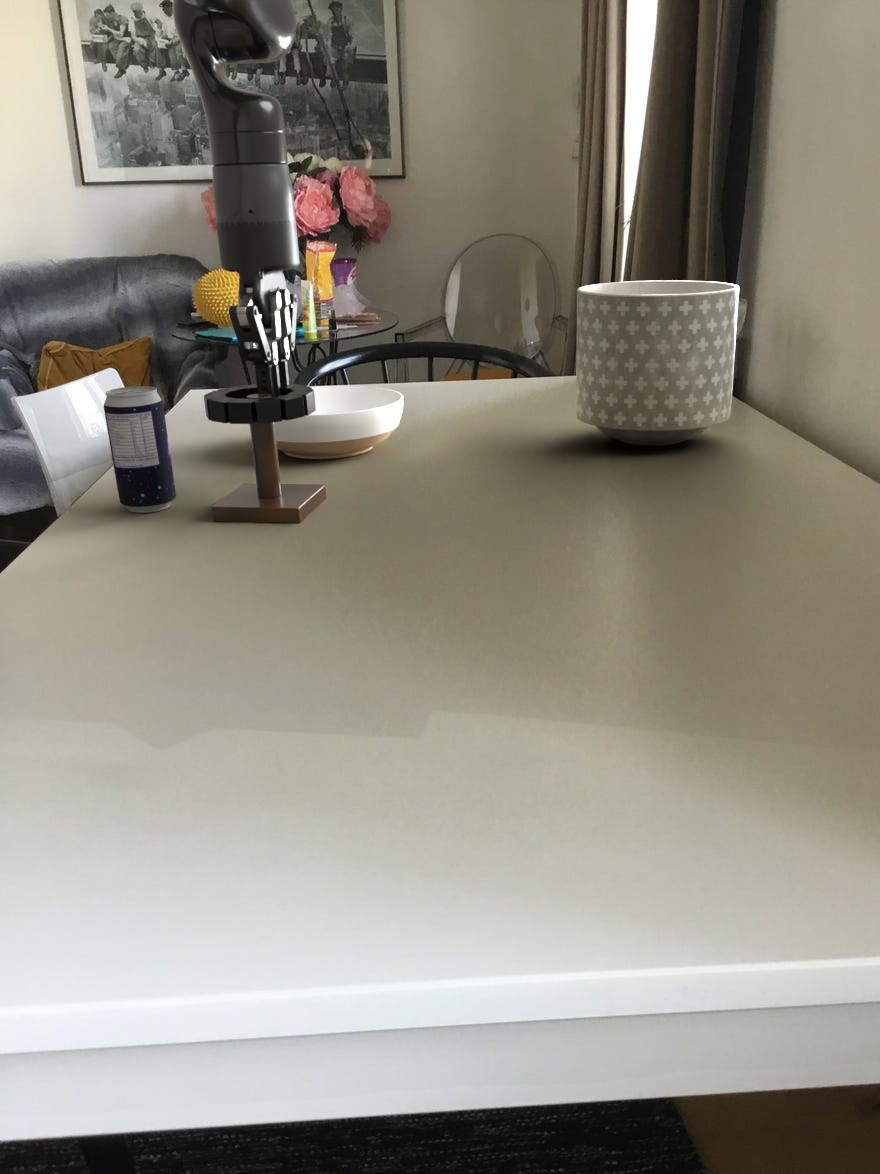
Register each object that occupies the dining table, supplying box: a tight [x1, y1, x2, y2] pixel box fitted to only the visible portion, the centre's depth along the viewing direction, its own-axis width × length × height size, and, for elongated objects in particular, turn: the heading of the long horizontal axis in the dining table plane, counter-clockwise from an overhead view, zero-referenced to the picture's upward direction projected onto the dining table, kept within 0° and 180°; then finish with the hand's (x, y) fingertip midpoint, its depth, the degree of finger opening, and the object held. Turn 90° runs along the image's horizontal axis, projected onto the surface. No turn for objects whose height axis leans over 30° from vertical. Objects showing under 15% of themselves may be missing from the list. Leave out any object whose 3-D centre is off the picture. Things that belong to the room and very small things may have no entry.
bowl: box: [274, 385, 404, 460], centre depth 131 cm, size 20×20×6 cm
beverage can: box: [103, 385, 177, 514], centre depth 107 cm, size 6×6×12 cm
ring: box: [203, 383, 316, 425], centre depth 103 cm, size 10×10×2 cm
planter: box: [575, 280, 740, 447], centre depth 129 cm, size 19×19×18 cm
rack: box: [210, 394, 327, 524], centre depth 105 cm, size 9×9×12 cm
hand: (274, 399), depth 107 cm, fingers closed on ring, 2 cm apart
